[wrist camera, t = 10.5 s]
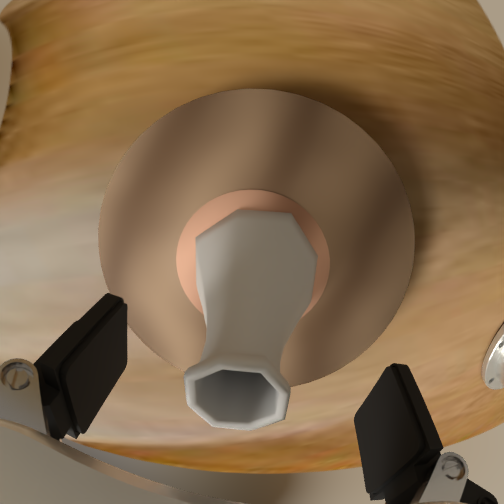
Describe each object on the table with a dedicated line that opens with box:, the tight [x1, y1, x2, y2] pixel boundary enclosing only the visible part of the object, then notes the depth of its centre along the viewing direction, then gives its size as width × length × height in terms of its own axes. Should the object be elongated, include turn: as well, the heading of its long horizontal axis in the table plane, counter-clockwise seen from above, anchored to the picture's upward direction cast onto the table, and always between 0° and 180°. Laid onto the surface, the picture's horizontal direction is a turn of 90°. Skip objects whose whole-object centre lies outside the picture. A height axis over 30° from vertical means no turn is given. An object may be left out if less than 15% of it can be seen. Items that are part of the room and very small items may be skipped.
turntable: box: [98, 89, 415, 387], centre depth 18 cm, size 20×20×2 cm
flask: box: [184, 209, 318, 431], centre depth 13 cm, size 7×7×10 cm
